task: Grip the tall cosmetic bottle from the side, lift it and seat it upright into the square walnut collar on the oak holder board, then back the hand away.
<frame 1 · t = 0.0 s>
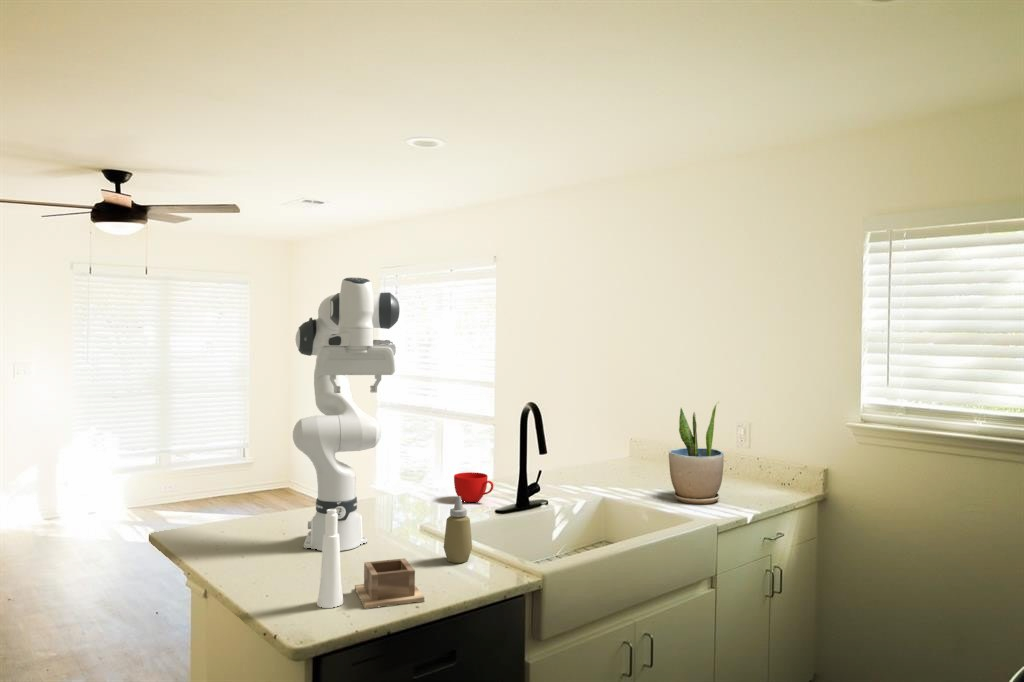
hand: (355, 392, 187), 48 cm above the table, tool pointing down, fingers open, 8 cm apart
squeeze bottle: (457, 561, 203), on the table
ceramic cup: (474, 502, 276), on the table
potted plant: (695, 500, 285), on the table
holder: (388, 595, 174), on the table
cosmetic bottle: (330, 604, 168), on the table
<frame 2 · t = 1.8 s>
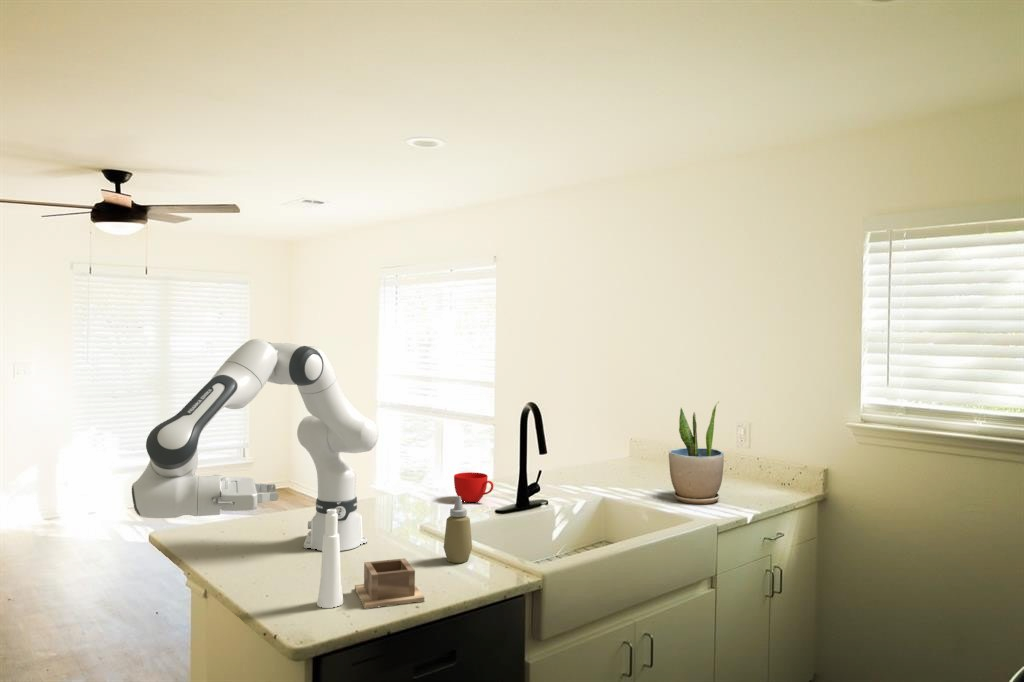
hand: (276, 491, 167), 26 cm above the table, tool horizontal, fingers open, 8 cm apart
nothing on the table moved.
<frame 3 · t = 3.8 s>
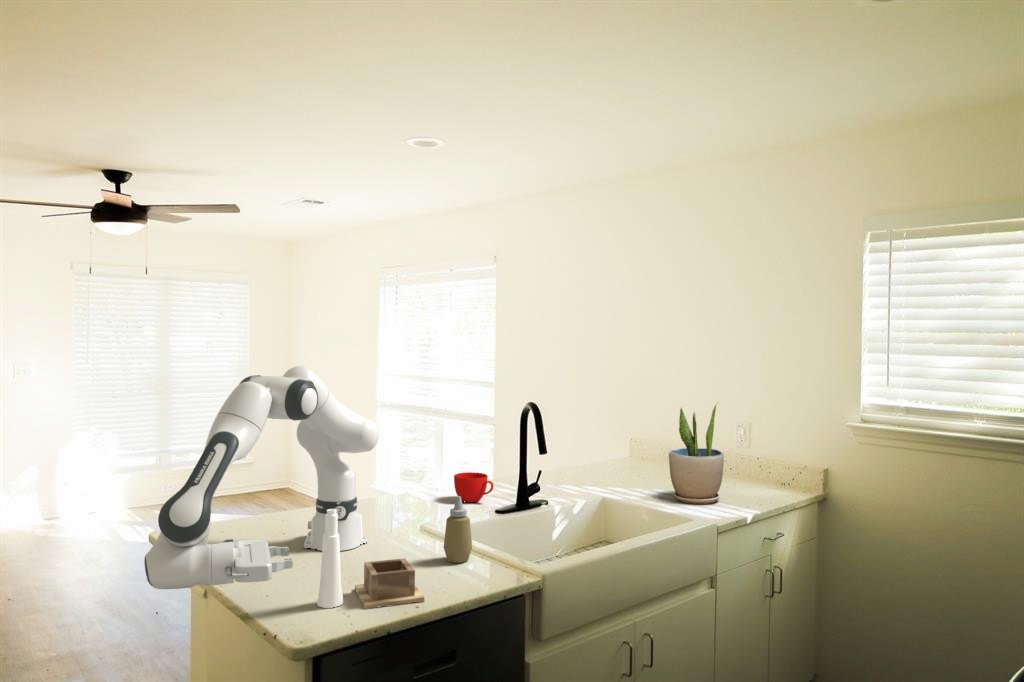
hand: (290, 557, 165), 12 cm above the table, tool horizontal, fingers open, 8 cm apart
nothing on the table moved.
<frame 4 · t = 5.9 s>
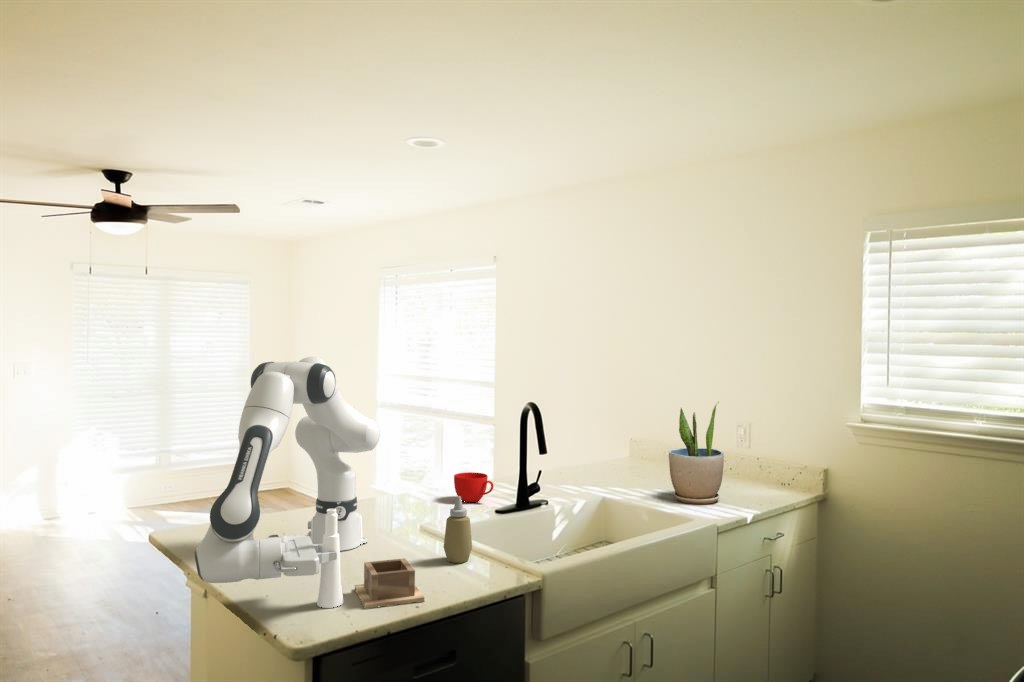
hand: (334, 551, 169), 12 cm above the table, tool horizontal, fingers closed on cosmetic bottle, 4 cm apart
cosmetic bottle: (330, 604, 168), on the table, touching gripper
everything else where it was.
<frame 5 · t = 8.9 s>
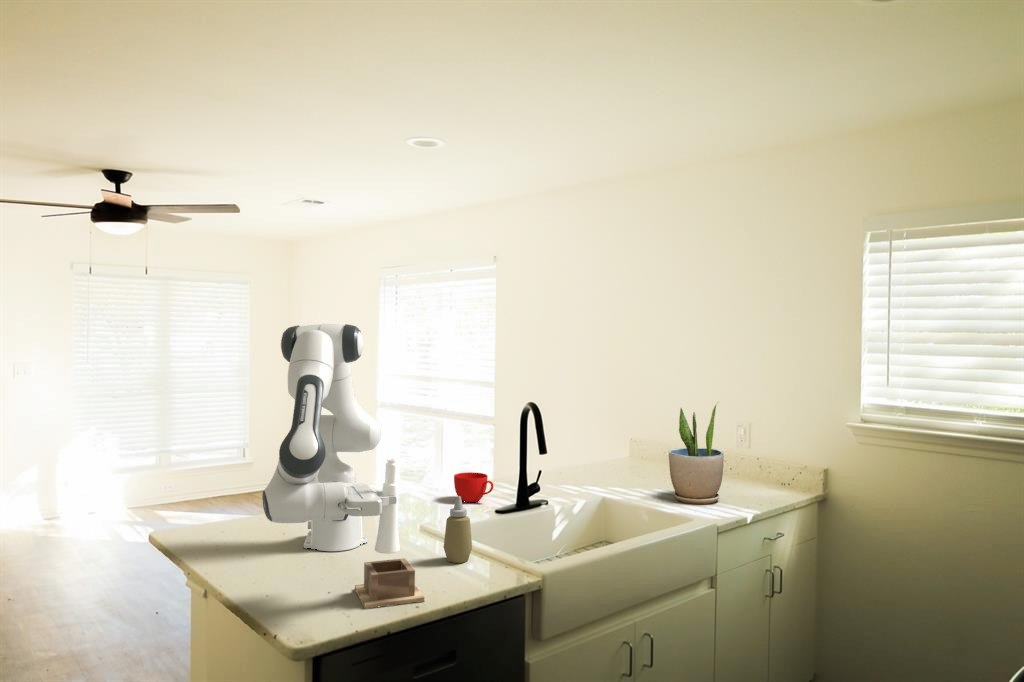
hand: (393, 497, 175), 24 cm above the table, tool horizontal, fingers closed on cosmetic bottle, 4 cm apart
cosmetic bottle: (387, 551, 174), point 11 cm above the table, touching gripper
everything else where it was.
when the fingers open (15 cm above the table, at t = 11.3 s): cosmetic bottle stays where it is, resting on holder.
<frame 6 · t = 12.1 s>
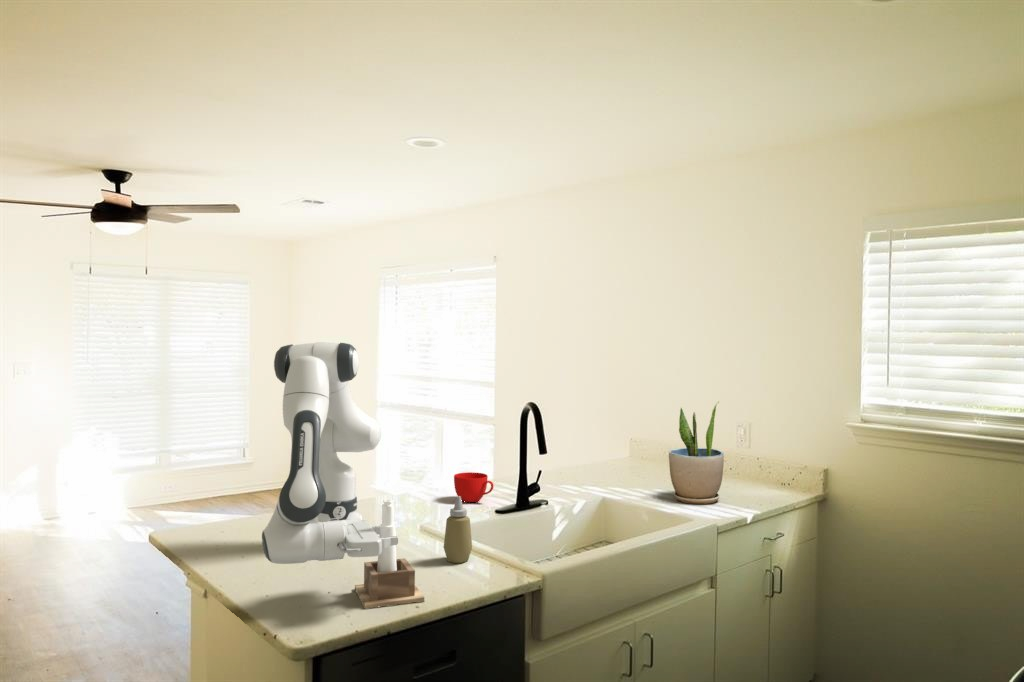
hand: (393, 535, 175), 15 cm above the table, tool horizontal, fingers open, 8 cm apart
cosmetic bottle: (386, 592, 174), point 1 cm above the table, touching holder
everything else where it was.
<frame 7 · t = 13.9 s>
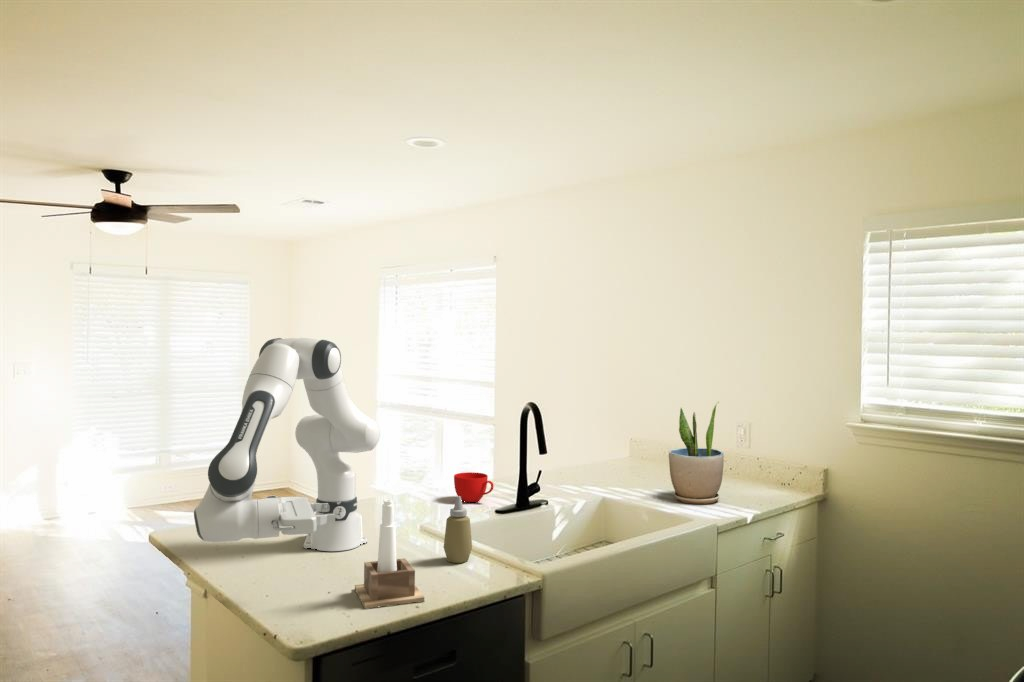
hand: (331, 512, 171), 21 cm above the table, tool horizontal, fingers open, 8 cm apart
nothing on the table moved.
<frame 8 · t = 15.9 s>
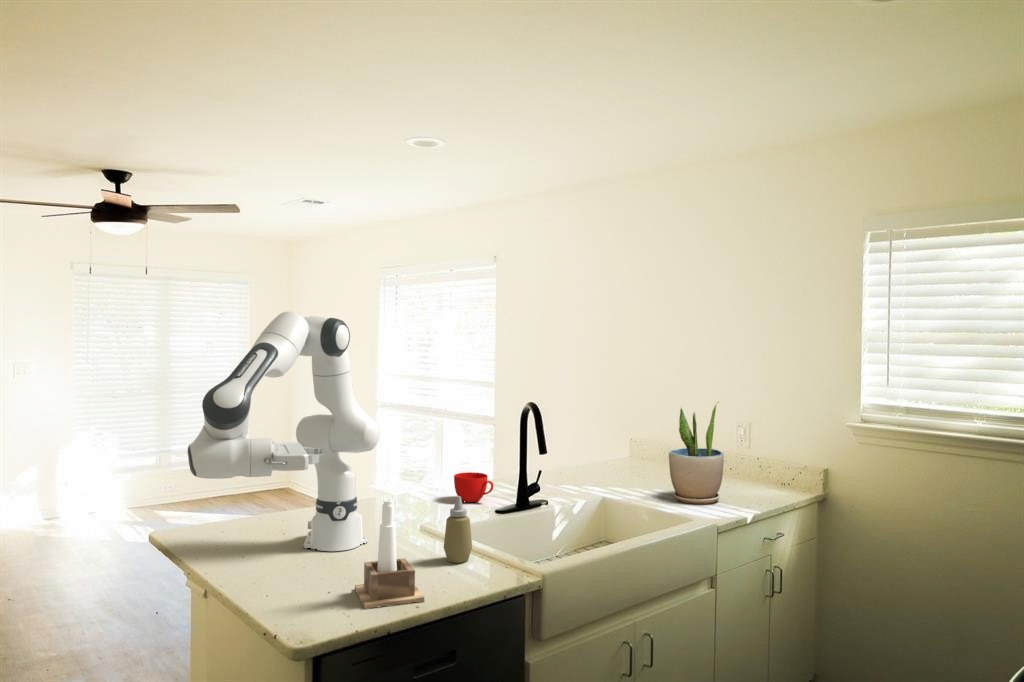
hand: (324, 454, 173), 34 cm above the table, tool horizontal, fingers open, 8 cm apart
nothing on the table moved.
at the end: cosmetic bottle 0.5 cm off-centre on the holder, point 0.8 cm above the holder's base; cosmetic bottle tilted 0°; the gripper is holding nothing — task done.
